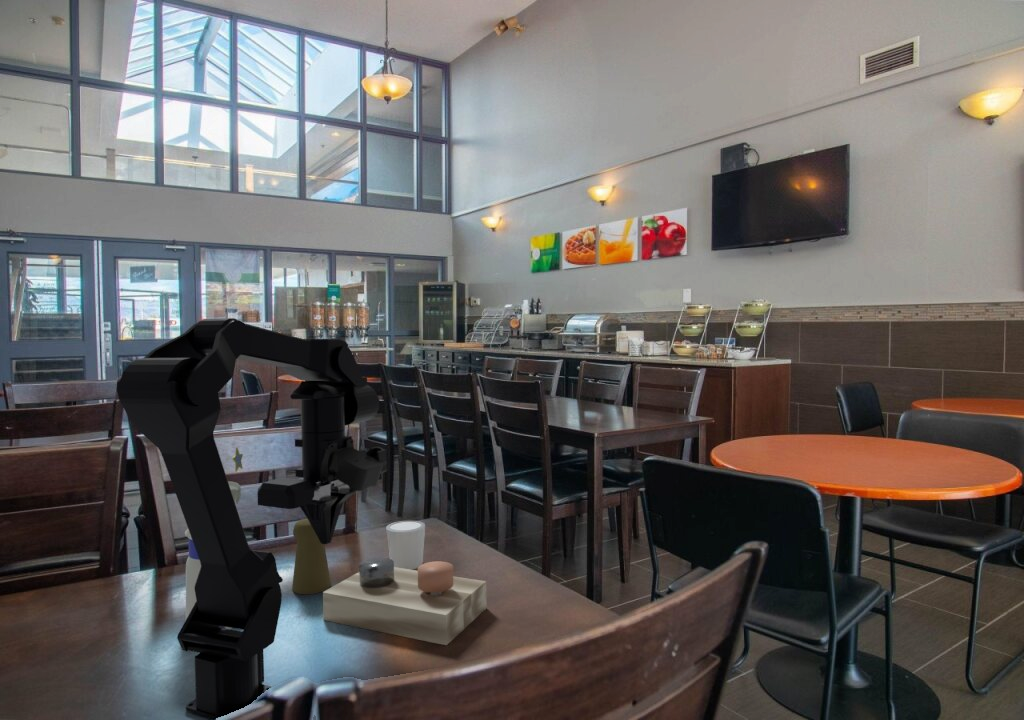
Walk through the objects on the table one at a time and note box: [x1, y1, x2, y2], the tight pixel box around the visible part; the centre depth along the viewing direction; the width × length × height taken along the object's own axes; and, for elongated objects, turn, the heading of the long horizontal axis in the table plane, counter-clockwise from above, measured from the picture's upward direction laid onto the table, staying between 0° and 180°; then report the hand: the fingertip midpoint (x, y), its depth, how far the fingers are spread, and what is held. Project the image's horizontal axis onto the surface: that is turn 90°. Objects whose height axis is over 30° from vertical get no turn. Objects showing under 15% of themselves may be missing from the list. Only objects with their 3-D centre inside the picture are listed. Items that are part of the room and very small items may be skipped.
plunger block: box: [322, 567, 488, 646], centre depth 90 cm, size 12×20×4 cm, turn 67°
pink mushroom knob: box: [417, 560, 454, 596], centre depth 88 cm, size 5×5×6 cm
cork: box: [291, 517, 332, 595], centre depth 101 cm, size 6×6×11 cm
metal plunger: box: [358, 557, 394, 587], centre depth 92 cm, size 5×5×6 cm
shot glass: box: [385, 520, 426, 570], centre depth 110 cm, size 7×7×7 cm
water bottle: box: [184, 447, 244, 630], centre depth 88 cm, size 8×9×25 cm
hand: (325, 543), depth 86 cm, fingers closed
